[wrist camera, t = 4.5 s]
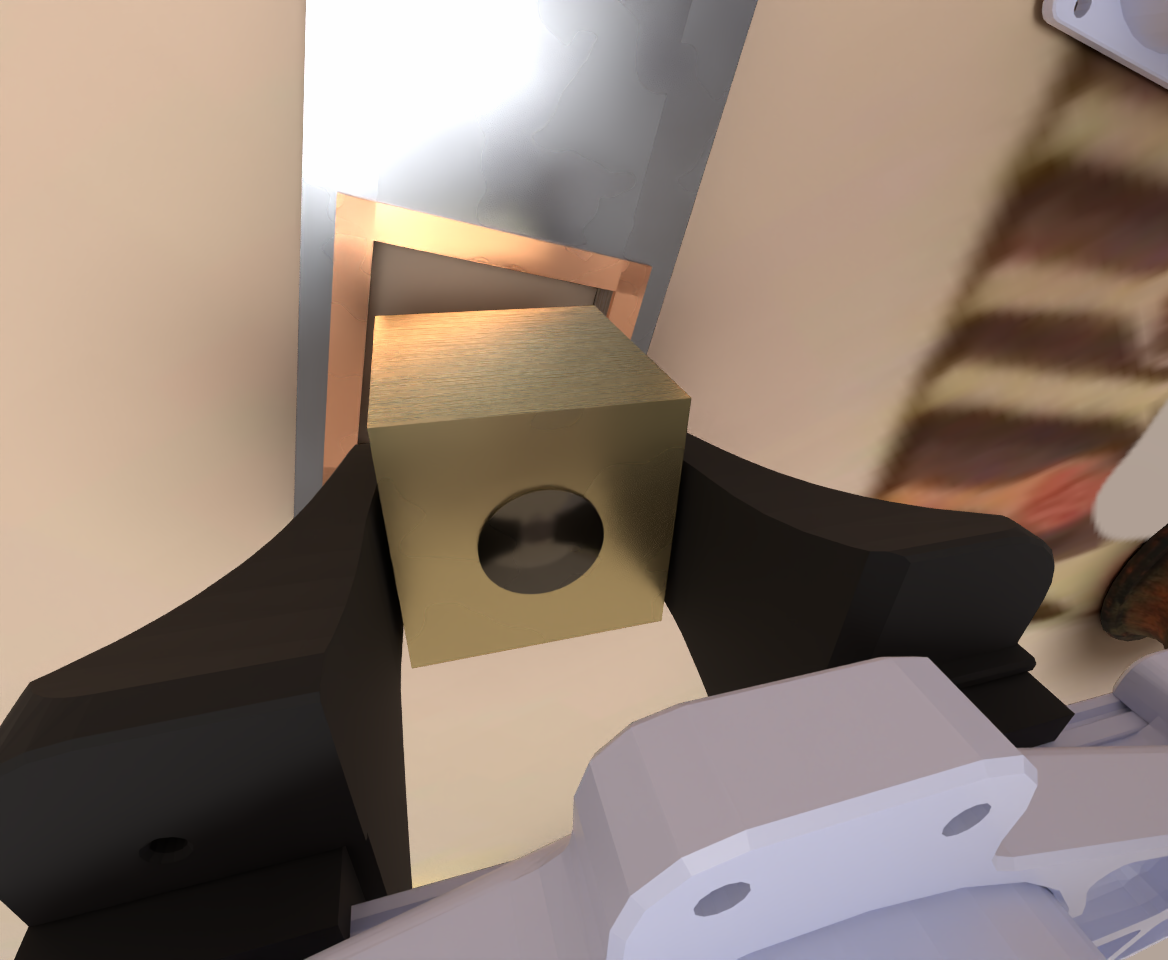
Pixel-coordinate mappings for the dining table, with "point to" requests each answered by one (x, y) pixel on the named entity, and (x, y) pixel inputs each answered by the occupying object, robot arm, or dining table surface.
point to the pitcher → (1140, 595)
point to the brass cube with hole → (522, 476)
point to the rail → (496, 161)
